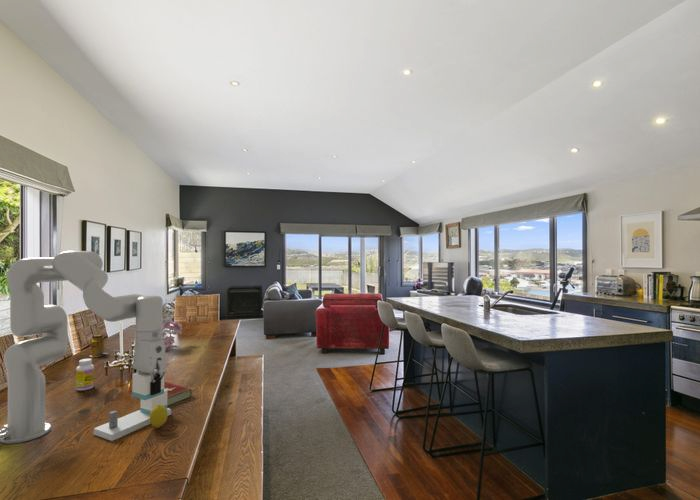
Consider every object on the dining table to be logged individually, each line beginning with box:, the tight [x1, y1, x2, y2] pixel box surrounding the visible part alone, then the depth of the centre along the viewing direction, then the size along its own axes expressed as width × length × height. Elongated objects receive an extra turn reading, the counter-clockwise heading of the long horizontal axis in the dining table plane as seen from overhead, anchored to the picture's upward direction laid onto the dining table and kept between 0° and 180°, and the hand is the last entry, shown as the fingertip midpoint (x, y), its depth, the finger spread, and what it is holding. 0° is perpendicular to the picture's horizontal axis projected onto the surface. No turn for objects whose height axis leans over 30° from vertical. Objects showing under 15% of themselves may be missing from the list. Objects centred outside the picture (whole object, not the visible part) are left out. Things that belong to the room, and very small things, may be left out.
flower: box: [162, 315, 183, 352], centre depth 232 cm, size 20×22×25 cm
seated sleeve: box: [139, 389, 168, 415], centre depth 137 cm, size 6×6×7 cm
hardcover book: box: [164, 381, 193, 407], centre depth 155 cm, size 12×21×4 cm, turn 63°
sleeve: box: [131, 369, 165, 400], centre depth 115 cm, size 7×6×7 cm
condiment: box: [89, 334, 110, 358], centre depth 218 cm, size 7×8×12 cm
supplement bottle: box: [75, 358, 95, 392], centre depth 164 cm, size 7×7×13 cm
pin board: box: [93, 407, 172, 442], centre depth 130 cm, size 22×10×7 cm, turn 154°
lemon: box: [150, 405, 168, 429], centre depth 127 cm, size 6×6×8 cm
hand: (148, 391), depth 115 cm, fingers closed on sleeve, 6 cm apart
